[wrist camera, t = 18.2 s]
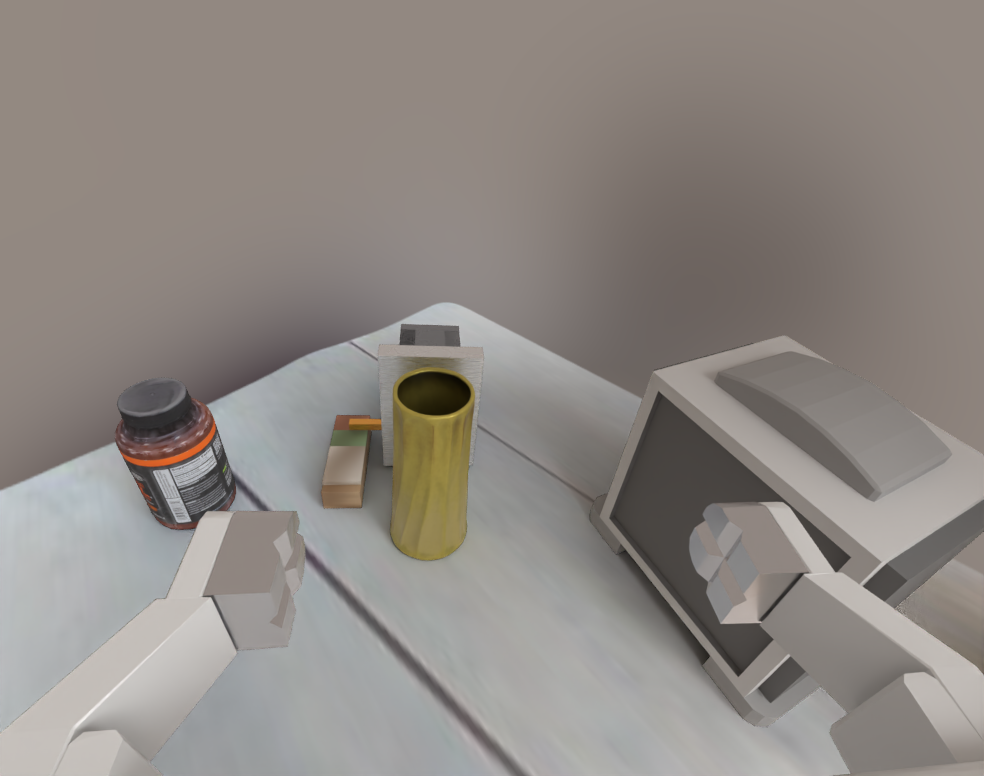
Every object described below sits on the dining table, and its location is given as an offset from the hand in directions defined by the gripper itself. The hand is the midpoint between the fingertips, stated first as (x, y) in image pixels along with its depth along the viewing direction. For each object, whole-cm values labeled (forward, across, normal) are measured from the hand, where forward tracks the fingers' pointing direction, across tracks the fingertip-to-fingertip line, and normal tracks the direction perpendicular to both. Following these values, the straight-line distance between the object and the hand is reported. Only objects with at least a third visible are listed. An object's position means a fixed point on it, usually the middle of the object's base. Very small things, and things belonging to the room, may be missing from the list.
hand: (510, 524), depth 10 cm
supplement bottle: (+22, +20, +26) cm, 39 cm away
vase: (+19, +1, +26) cm, 32 cm away
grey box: (+14, -22, +26) cm, 37 cm away
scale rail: (+25, +8, +26) cm, 37 cm away
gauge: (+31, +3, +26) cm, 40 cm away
